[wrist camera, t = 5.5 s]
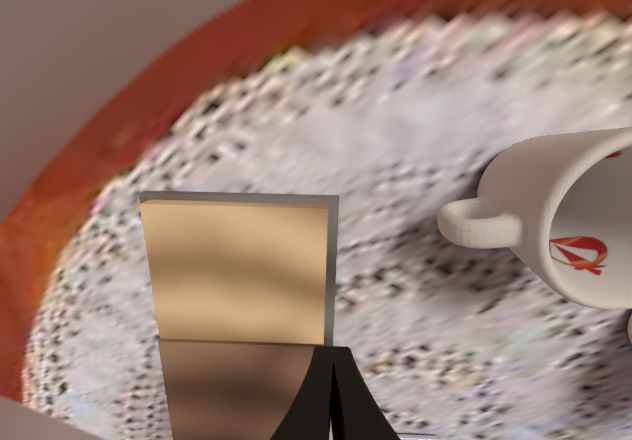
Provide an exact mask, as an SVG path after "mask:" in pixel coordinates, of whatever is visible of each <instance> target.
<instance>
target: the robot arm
mask: <svg viewBox="0 0 632 440" xmlns="http://www.w3.org/2000/svg"><path fill="white" fill-rule="evenodd" d="M330 419H331V424H332V434H333V440H440V438H439V437H438V436H431V435H407V434H396V432H395V431H394V430H393V428H392V427H391V425H390V424H389V422H388V421H387V419H386V418H385V416H384V415H383V413H382V412H381V410H380V408H379V407H378V405H377V404H376V402H375V400H374V399H373V397H372V395H371V393H370V391H369V390H368V388H367V386H366V384H365V382H364V380H363V378H362V376H361V374H360V372H359V370H358V368H357V365H356V363H355V361H354V358H353V355H352V352H351V349H350V348H349V347H339V346H316V347H315V348H314V350H313V355H312V359H311V362H310V365H309V368H308V370H307V373H306V375H305V378H304V380H303V382H302V384H301V387H300V389H299V391H298V393H297V395H296V397H295V399H294V400H293V402H292V404H291V406H290V408H289V410H288V412H287V413H286V415H285V417H284V418H283V420H282V422H281V423H280V425H279V426H278V428H277V429H276V431H275V432H274V434H273V435H272V437H271V438H270V440H329V432H330Z"/></svg>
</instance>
